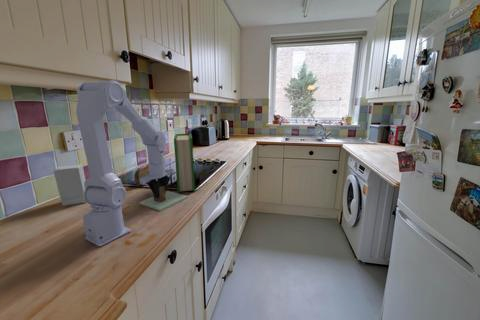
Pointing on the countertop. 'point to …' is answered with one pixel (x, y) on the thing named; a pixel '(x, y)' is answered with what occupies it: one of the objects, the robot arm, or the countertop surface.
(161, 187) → the walnut block
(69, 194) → the skincare box
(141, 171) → the tin
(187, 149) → the hardback book
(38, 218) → the countertop surface
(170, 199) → the tray
